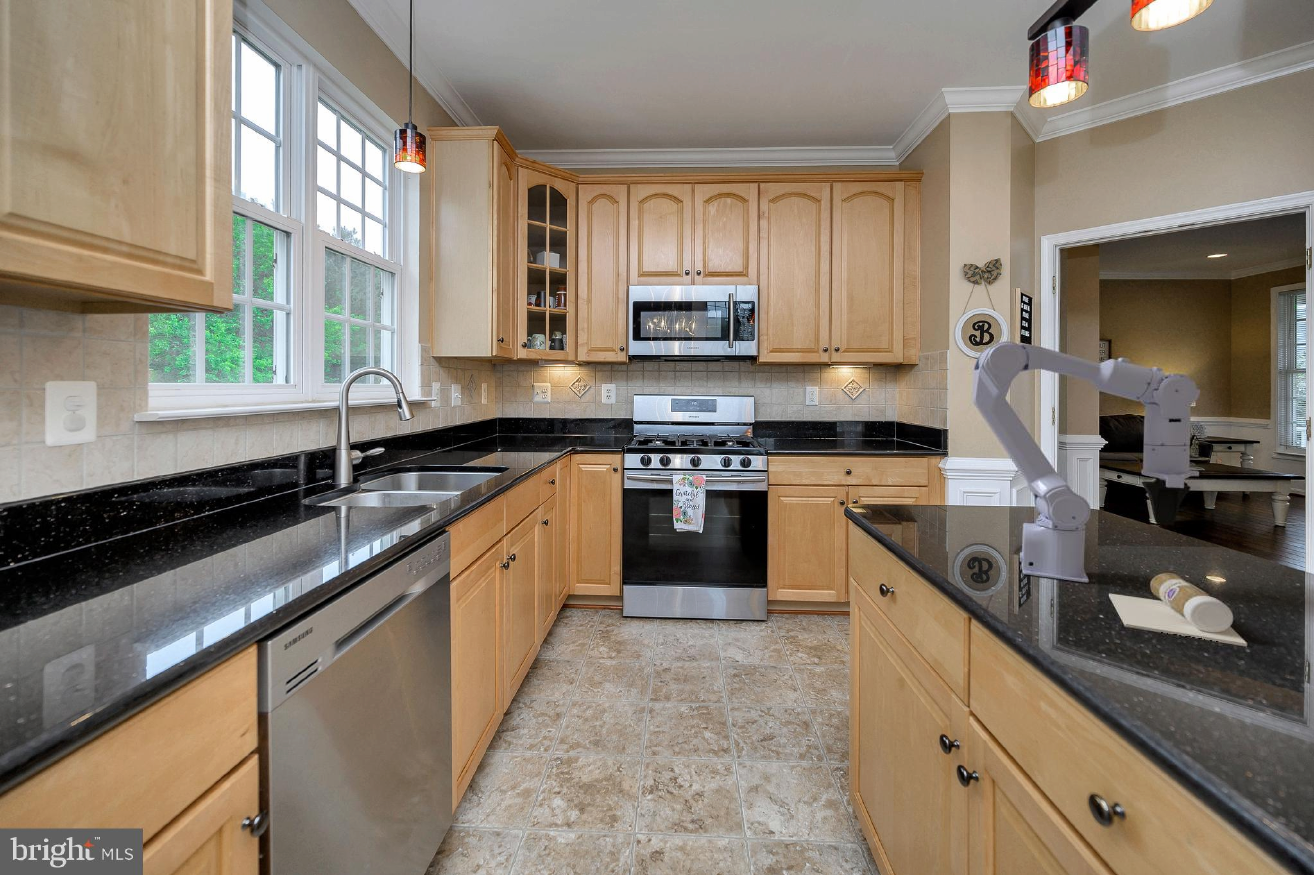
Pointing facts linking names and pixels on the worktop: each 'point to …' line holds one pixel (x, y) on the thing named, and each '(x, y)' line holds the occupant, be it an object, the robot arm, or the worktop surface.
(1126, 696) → the worktop surface
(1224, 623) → the sprinkles bottle
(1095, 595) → the worktop surface
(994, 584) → the worktop surface
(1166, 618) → the silicone mat
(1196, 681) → the worktop surface
